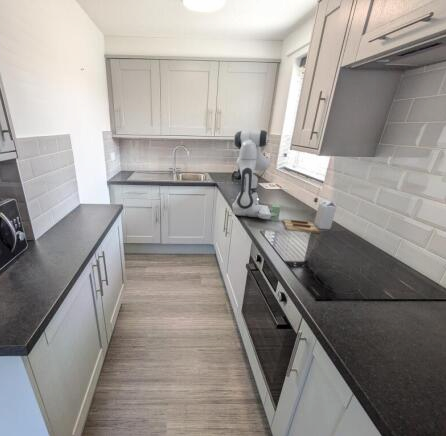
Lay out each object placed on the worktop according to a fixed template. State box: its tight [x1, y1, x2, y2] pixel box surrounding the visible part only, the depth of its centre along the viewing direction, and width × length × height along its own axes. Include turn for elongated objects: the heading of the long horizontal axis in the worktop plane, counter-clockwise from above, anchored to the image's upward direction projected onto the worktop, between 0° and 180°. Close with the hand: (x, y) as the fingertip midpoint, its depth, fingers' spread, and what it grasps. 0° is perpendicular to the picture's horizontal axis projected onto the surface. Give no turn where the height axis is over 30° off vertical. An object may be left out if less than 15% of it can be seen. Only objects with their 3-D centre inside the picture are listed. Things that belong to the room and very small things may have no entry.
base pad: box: [282, 218, 320, 234], centre depth 148 cm, size 16×18×3 cm
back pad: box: [269, 204, 282, 222], centre depth 157 cm, size 4×5×10 cm
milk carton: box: [313, 197, 337, 230], centre depth 146 cm, size 7×7×19 cm
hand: (276, 213), depth 157 cm, fingers closed on back pad, 4 cm apart
